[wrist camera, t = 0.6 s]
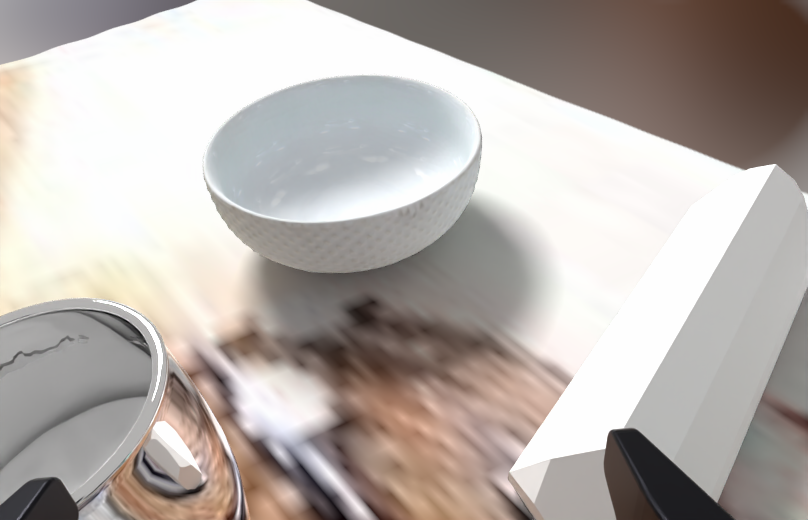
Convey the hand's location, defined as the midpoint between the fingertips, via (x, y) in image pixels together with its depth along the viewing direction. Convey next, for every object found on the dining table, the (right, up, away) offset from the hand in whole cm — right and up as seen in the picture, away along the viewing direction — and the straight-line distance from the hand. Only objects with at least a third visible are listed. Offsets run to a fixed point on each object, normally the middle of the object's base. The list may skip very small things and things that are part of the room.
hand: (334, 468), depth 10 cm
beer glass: (-6, -11, +13) cm, 18 cm away
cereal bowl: (-2, +6, +31) cm, 32 cm away
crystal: (+15, -3, +20) cm, 25 cm away
